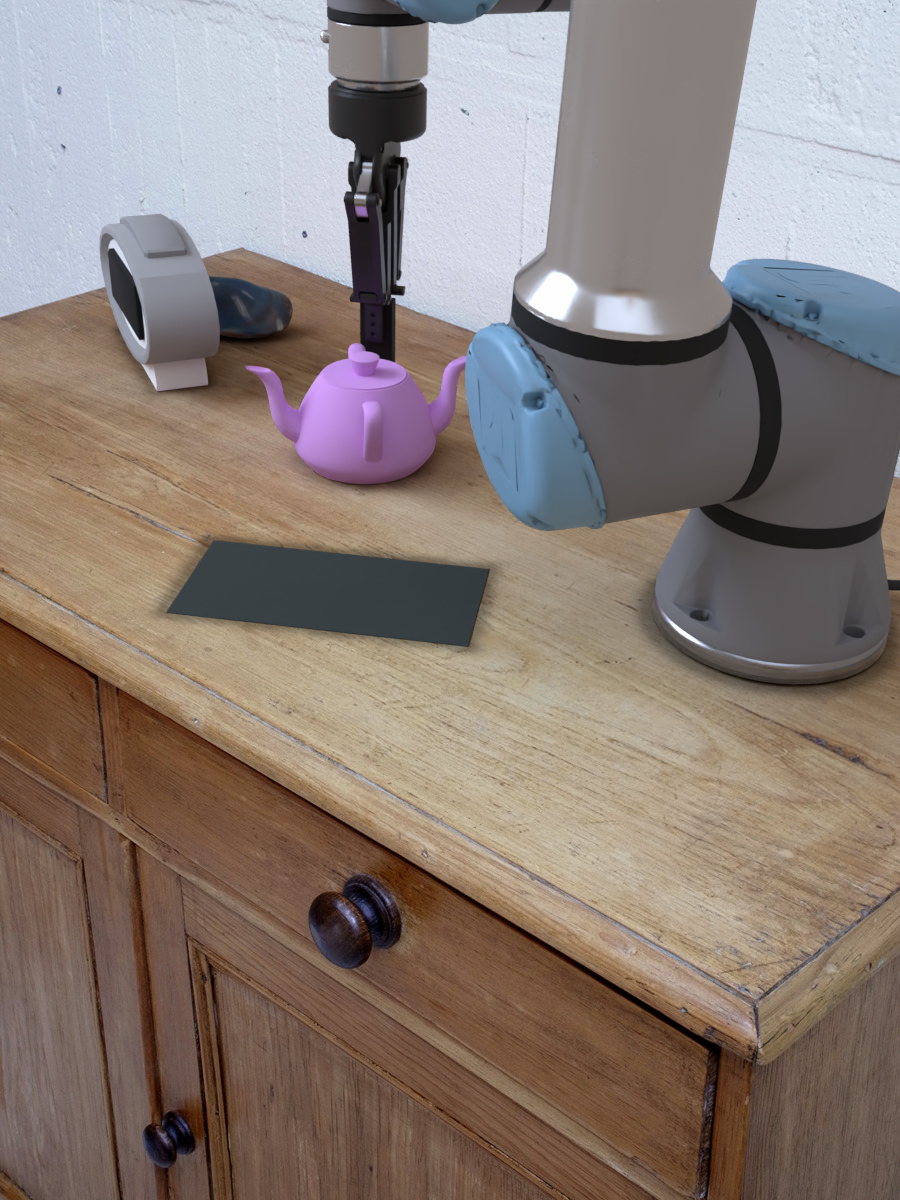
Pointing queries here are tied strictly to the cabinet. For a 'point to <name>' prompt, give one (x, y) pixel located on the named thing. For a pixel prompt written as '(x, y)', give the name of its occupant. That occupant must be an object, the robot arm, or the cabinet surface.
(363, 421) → the teapot
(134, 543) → the cabinet surface
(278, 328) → the seashell
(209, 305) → the alarm clock
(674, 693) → the cabinet surface
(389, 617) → the mat
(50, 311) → the cabinet surface
